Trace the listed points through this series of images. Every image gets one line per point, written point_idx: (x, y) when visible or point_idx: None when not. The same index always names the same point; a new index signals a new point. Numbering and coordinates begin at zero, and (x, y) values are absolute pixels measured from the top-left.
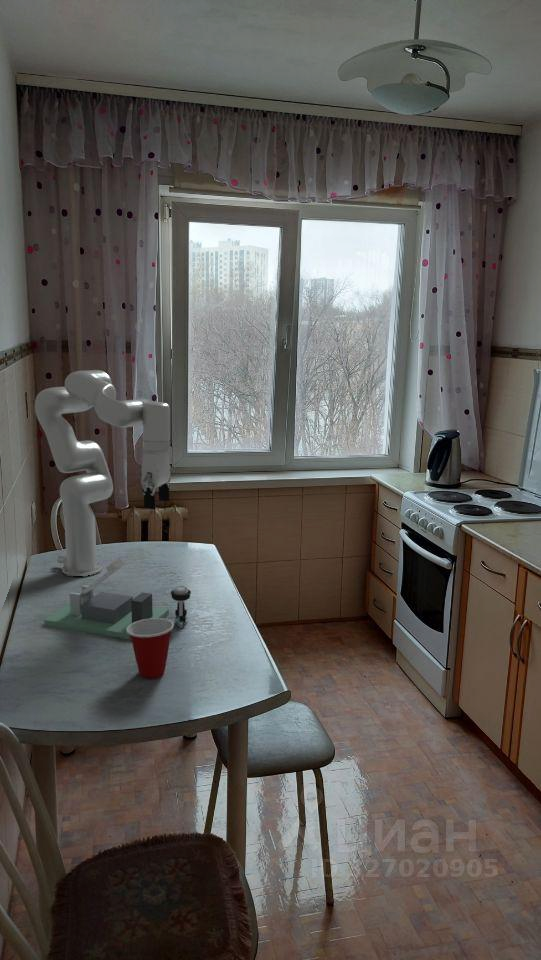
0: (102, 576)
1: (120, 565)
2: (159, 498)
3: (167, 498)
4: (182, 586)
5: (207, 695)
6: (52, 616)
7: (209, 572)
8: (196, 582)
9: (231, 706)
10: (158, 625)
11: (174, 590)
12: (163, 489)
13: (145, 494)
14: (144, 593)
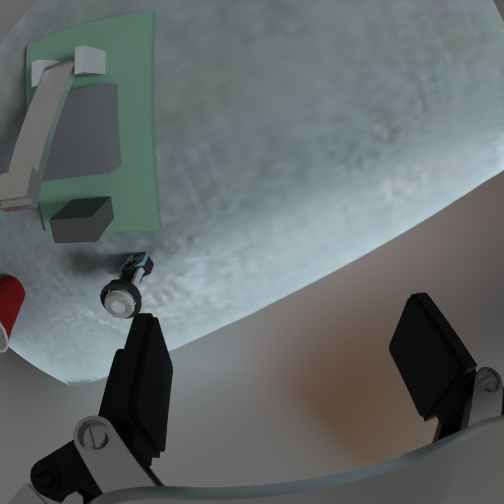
0: (14, 153)
1: (19, 208)
2: (413, 306)
3: (394, 357)
4: (129, 306)
5: (28, 344)
6: (40, 44)
7: (406, 210)
8: (349, 205)
9: (33, 362)
10: (4, 323)
11: (107, 297)
12: (433, 388)
13: (86, 434)
14: (89, 225)
